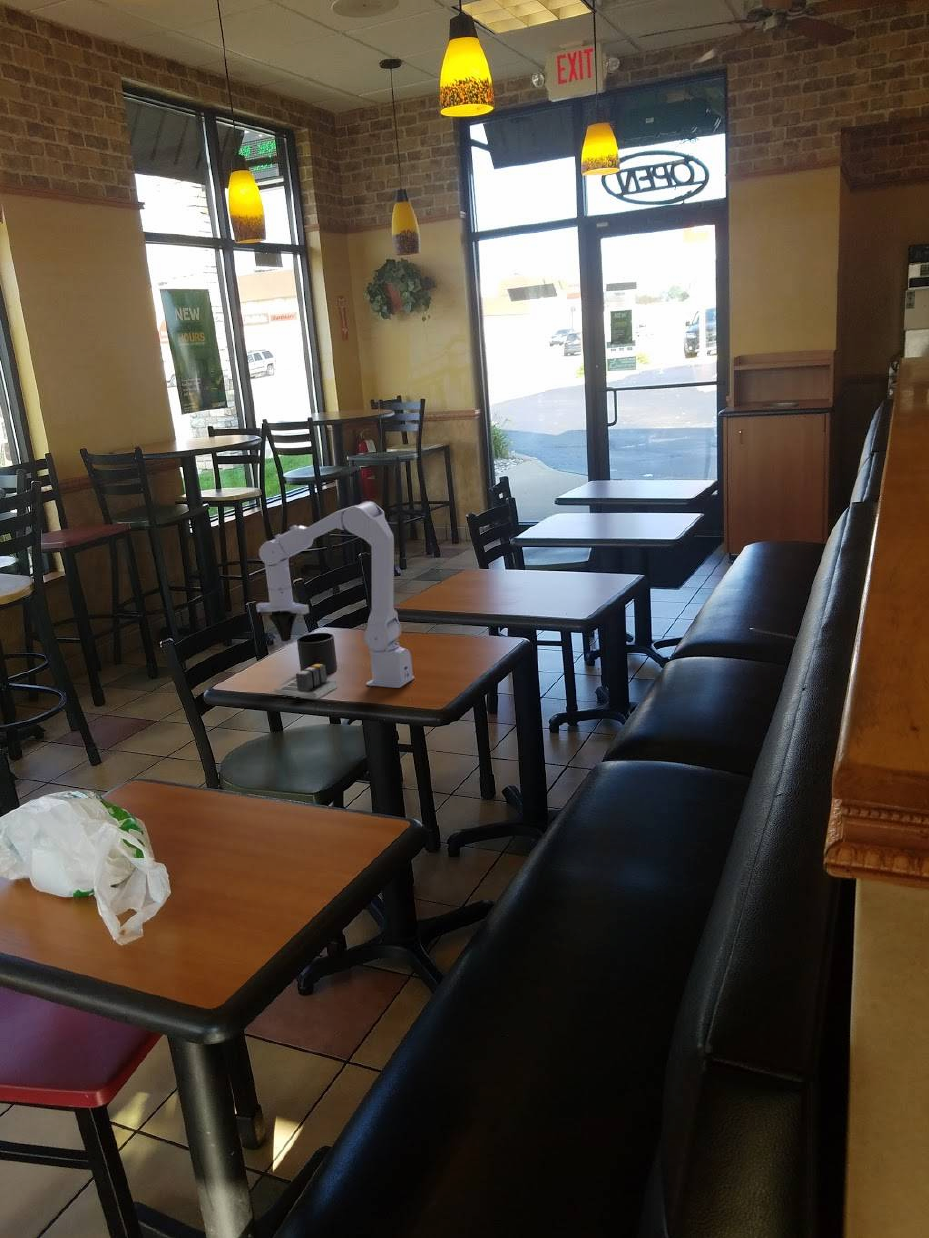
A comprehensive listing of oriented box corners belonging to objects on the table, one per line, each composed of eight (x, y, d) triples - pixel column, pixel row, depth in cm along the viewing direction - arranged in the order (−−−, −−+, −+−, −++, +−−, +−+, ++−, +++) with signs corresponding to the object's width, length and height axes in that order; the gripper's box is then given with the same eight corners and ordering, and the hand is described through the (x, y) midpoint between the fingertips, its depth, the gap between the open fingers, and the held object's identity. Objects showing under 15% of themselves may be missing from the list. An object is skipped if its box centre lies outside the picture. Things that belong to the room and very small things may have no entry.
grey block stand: (337, 687, 234) (334, 663, 233) (316, 699, 227) (313, 675, 225) (297, 683, 240) (294, 660, 238) (275, 695, 232) (272, 671, 230)
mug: (345, 662, 254) (342, 629, 252) (330, 676, 243) (326, 642, 241) (312, 662, 256) (308, 630, 254) (295, 677, 245) (291, 643, 243)
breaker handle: (326, 680, 234) (325, 664, 233) (321, 683, 232) (320, 667, 231) (316, 679, 236) (314, 663, 234) (311, 682, 234) (309, 666, 233)
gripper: (246, 590, 237) (253, 643, 240) (294, 592, 231) (301, 646, 234) (263, 583, 243) (270, 635, 246) (311, 585, 237) (317, 638, 240)
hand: (286, 640), depth 241 cm, fingers closed
